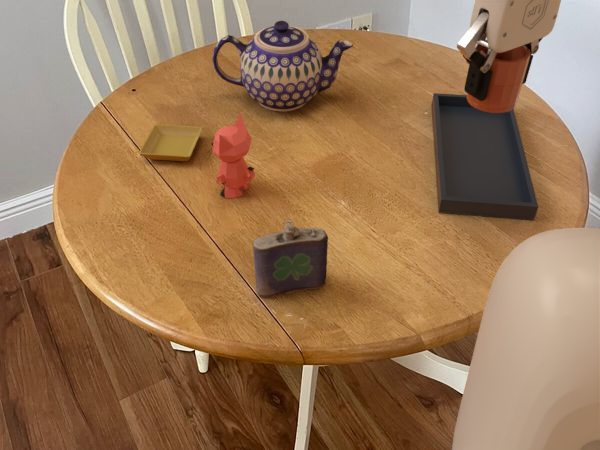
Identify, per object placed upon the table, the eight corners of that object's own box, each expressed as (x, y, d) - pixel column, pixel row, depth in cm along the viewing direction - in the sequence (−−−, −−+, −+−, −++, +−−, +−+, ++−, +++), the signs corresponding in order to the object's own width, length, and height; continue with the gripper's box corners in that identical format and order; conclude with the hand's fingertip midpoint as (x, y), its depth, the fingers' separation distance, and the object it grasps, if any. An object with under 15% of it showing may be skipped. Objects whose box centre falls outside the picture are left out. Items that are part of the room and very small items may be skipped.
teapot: (209, 116, 105) (199, 39, 95) (224, 75, 116) (217, 1, 106) (348, 122, 103) (353, 44, 93) (351, 80, 114) (355, 5, 104)
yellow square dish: (140, 163, 95) (137, 153, 94) (156, 133, 101) (154, 123, 100) (191, 167, 94) (190, 157, 93) (205, 136, 101) (203, 126, 99)
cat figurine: (229, 170, 94) (221, 106, 85) (267, 181, 92) (263, 116, 83) (206, 197, 89) (195, 131, 81) (245, 209, 87) (239, 142, 79)
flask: (258, 300, 74) (253, 240, 67) (254, 283, 76) (249, 223, 69) (328, 287, 76) (331, 227, 68) (322, 271, 78) (324, 211, 70)
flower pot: (526, 103, 75) (541, 53, 70) (491, 118, 72) (505, 67, 68) (490, 83, 79) (502, 33, 74) (456, 96, 76) (466, 46, 71)
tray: (533, 220, 85) (538, 206, 83) (438, 212, 86) (441, 199, 84) (507, 110, 106) (510, 97, 104) (431, 105, 107) (433, 93, 106)
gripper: (501, -36, 56) (466, 122, 69) (614, -69, 63) (564, 81, 75) (446, -58, 61) (423, 94, 73) (557, -86, 68) (519, 57, 80)
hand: (494, 86), depth 74 cm, fingers closed on flower pot, 6 cm apart
